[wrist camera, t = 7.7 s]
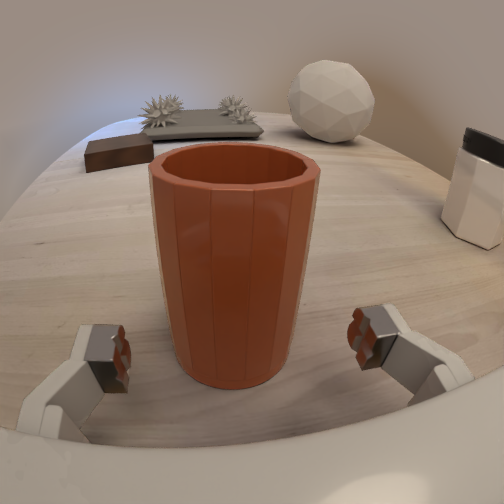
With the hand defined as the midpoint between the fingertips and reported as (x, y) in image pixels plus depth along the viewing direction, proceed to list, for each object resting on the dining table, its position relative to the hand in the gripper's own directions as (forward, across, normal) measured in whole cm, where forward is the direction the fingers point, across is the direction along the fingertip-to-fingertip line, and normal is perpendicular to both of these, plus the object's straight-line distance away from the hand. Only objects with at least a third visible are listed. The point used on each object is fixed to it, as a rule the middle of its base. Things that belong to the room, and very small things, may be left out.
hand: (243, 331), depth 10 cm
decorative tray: (+71, +2, +6) cm, 71 cm away
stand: (+45, +15, +6) cm, 48 cm away
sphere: (+60, -28, +6) cm, 66 cm away
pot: (+4, 0, +5) cm, 7 cm away
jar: (+16, -30, +6) cm, 34 cm away
